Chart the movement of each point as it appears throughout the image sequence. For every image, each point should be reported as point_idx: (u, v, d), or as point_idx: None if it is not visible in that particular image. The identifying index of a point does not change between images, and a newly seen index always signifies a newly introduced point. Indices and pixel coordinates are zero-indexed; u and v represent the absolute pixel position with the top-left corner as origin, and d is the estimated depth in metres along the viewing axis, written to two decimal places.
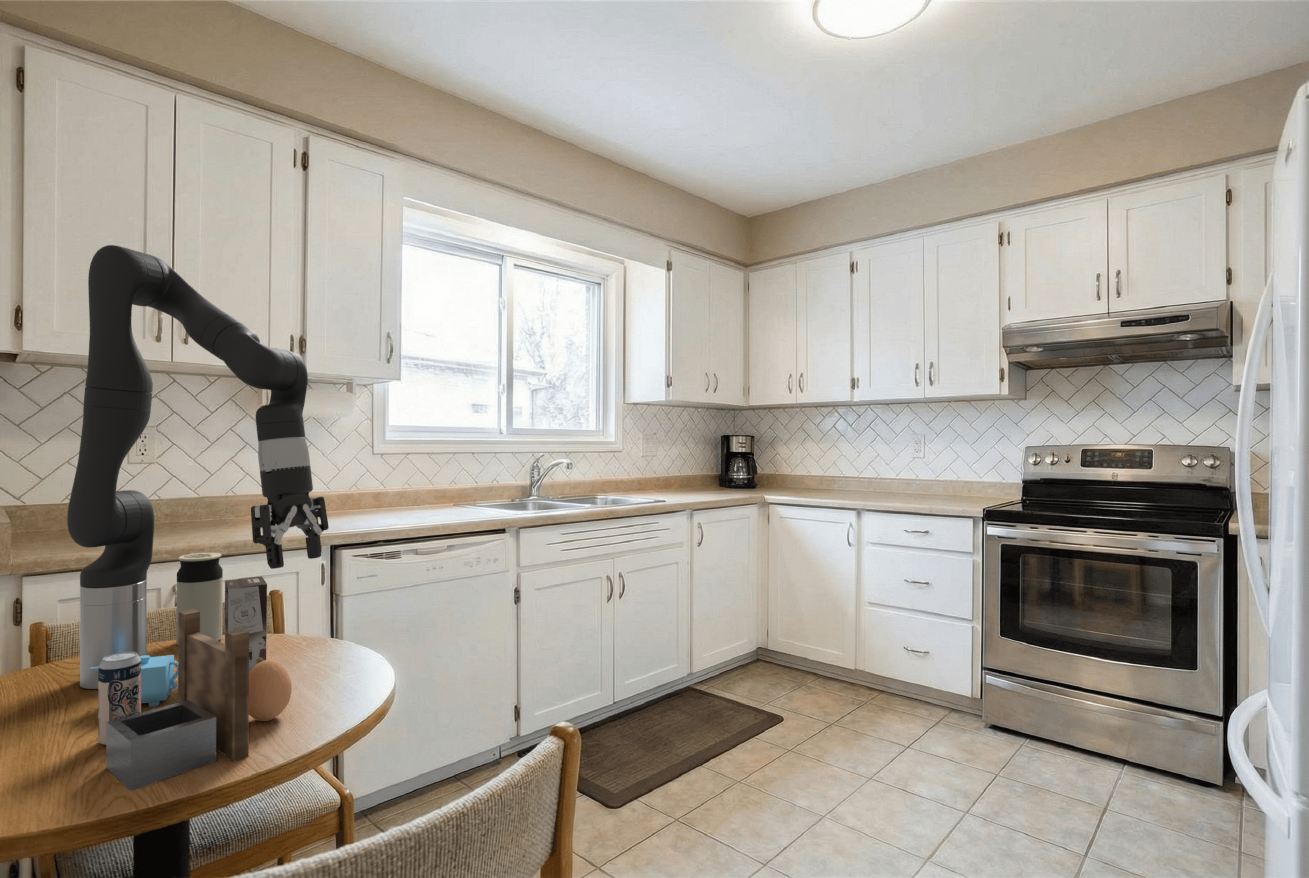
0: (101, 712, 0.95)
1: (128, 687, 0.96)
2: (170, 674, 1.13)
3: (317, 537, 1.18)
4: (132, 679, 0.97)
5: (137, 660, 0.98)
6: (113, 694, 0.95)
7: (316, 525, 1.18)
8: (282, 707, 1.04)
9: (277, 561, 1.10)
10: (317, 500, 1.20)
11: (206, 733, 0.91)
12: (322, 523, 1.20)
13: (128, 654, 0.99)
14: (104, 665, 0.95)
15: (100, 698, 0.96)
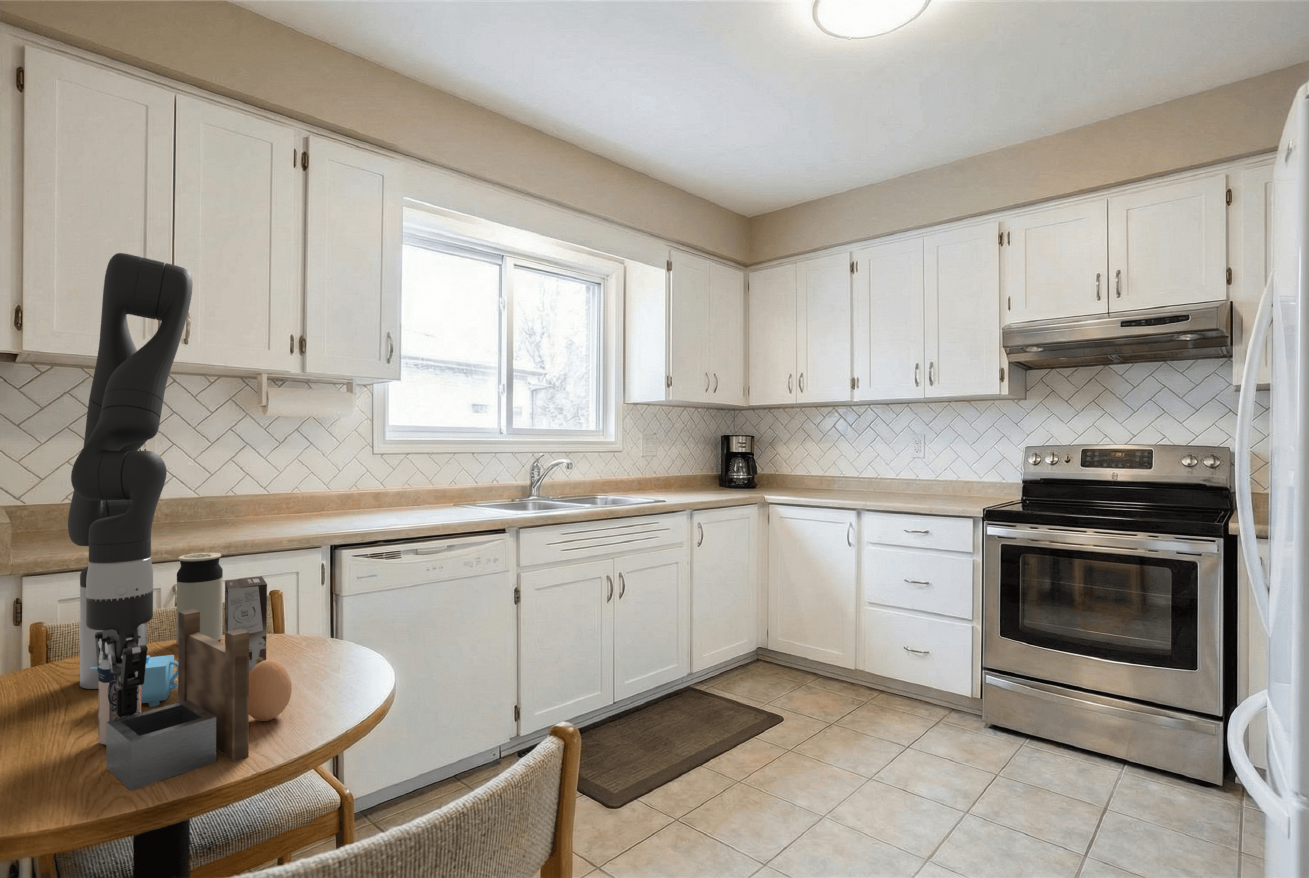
0: (101, 712, 0.95)
1: None
2: (170, 674, 1.13)
3: (116, 692, 0.95)
4: None
5: None
6: (113, 694, 0.95)
7: (115, 677, 0.95)
8: (282, 707, 1.04)
9: None
10: None
11: (206, 733, 0.91)
12: None
13: None
14: (104, 665, 0.95)
15: (100, 698, 0.96)
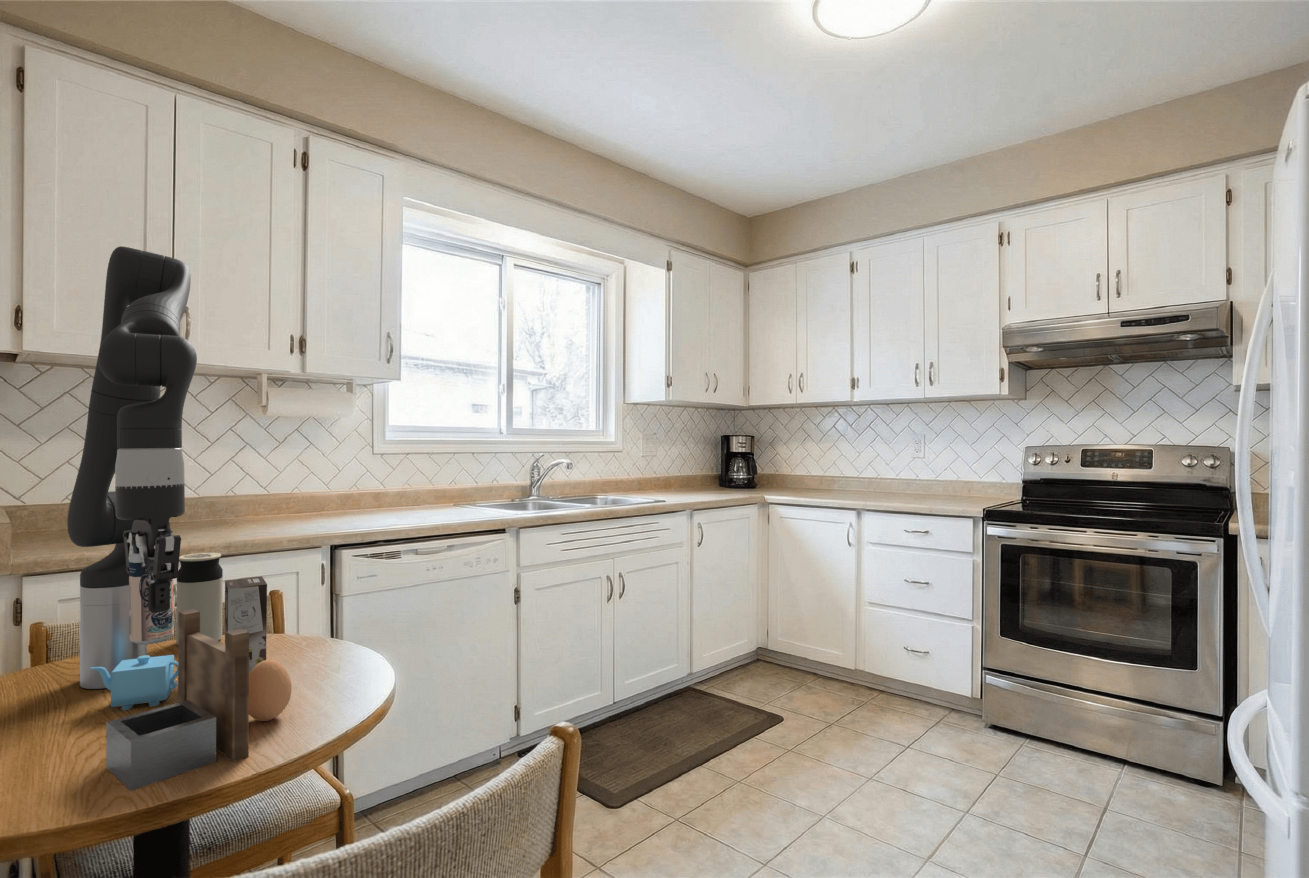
0: (133, 609, 0.90)
1: None
2: (170, 674, 1.13)
3: (149, 586, 0.90)
4: None
5: None
6: (145, 589, 0.90)
7: (147, 570, 0.90)
8: (282, 707, 1.04)
9: None
10: None
11: (206, 733, 0.91)
12: None
13: None
14: (135, 559, 0.90)
15: (131, 594, 0.90)
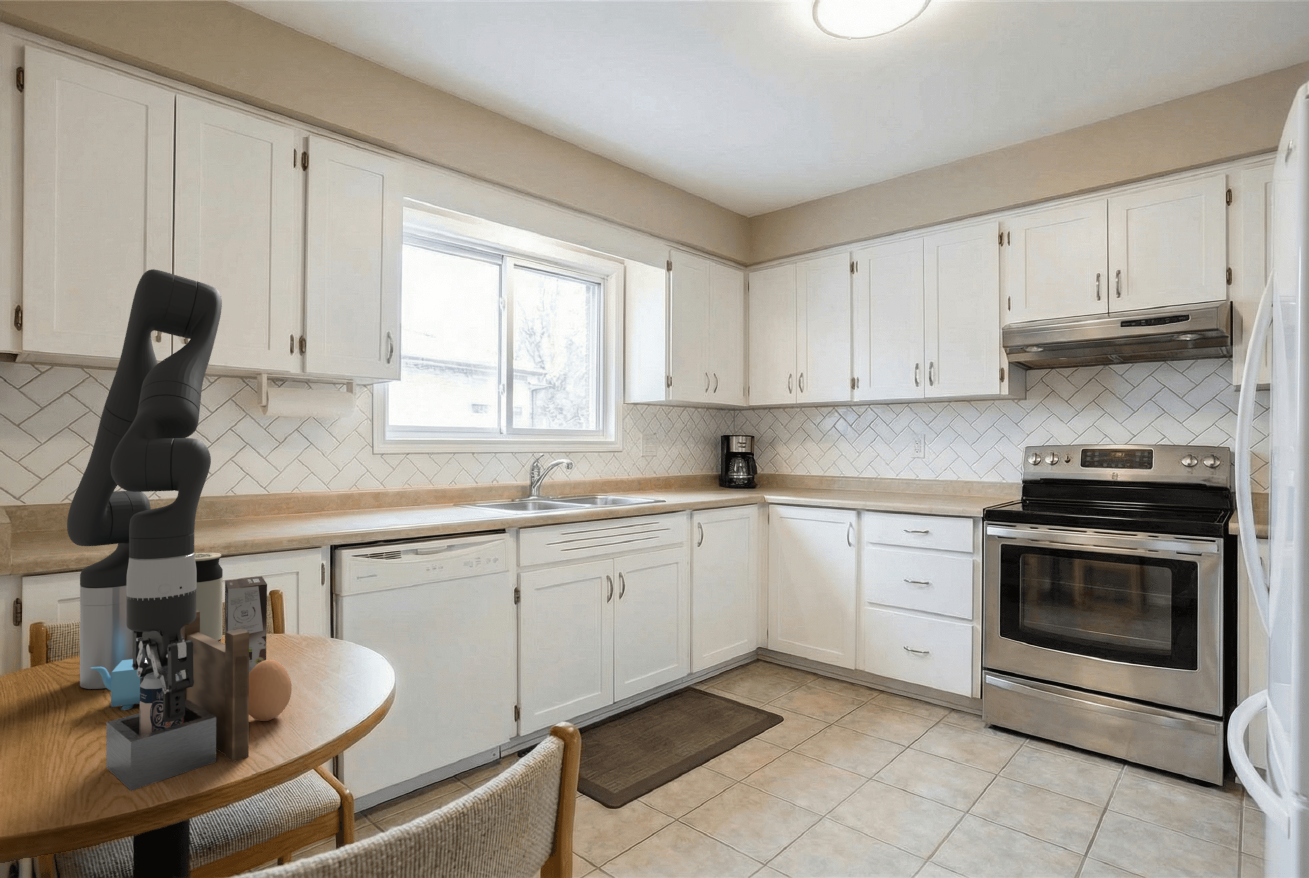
0: None
1: None
2: None
3: (163, 695, 0.87)
4: None
5: None
6: (156, 715, 0.88)
7: (162, 678, 0.87)
8: (282, 707, 1.04)
9: None
10: None
11: (206, 733, 0.91)
12: None
13: None
14: (146, 684, 0.88)
15: (142, 720, 0.89)
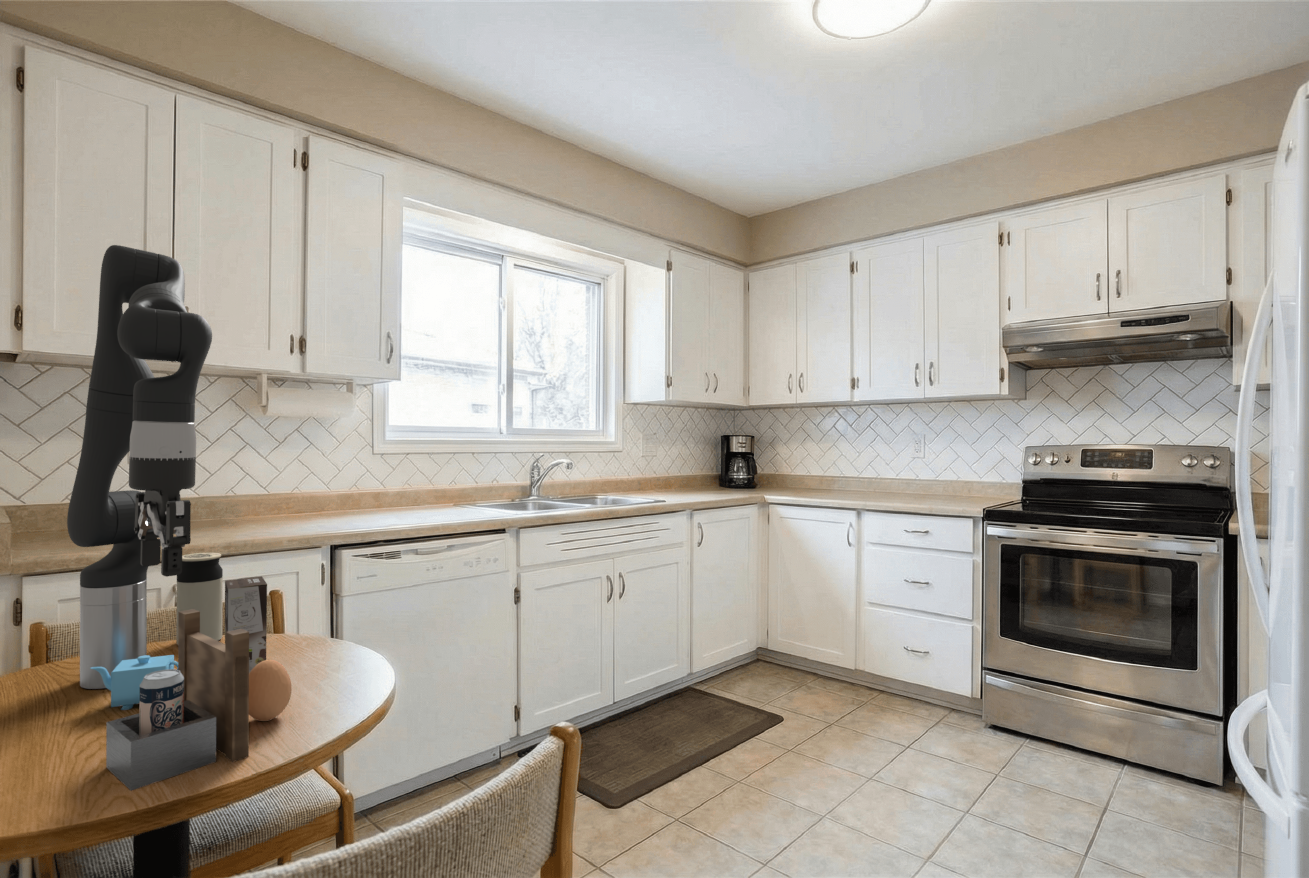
0: None
1: (171, 708, 0.89)
2: None
3: (162, 550, 0.92)
4: (175, 699, 0.90)
5: (181, 679, 0.91)
6: (156, 715, 0.88)
7: (161, 535, 0.92)
8: (282, 707, 1.04)
9: None
10: None
11: (206, 733, 0.91)
12: None
13: (170, 672, 0.92)
14: (146, 684, 0.88)
15: (141, 720, 0.89)
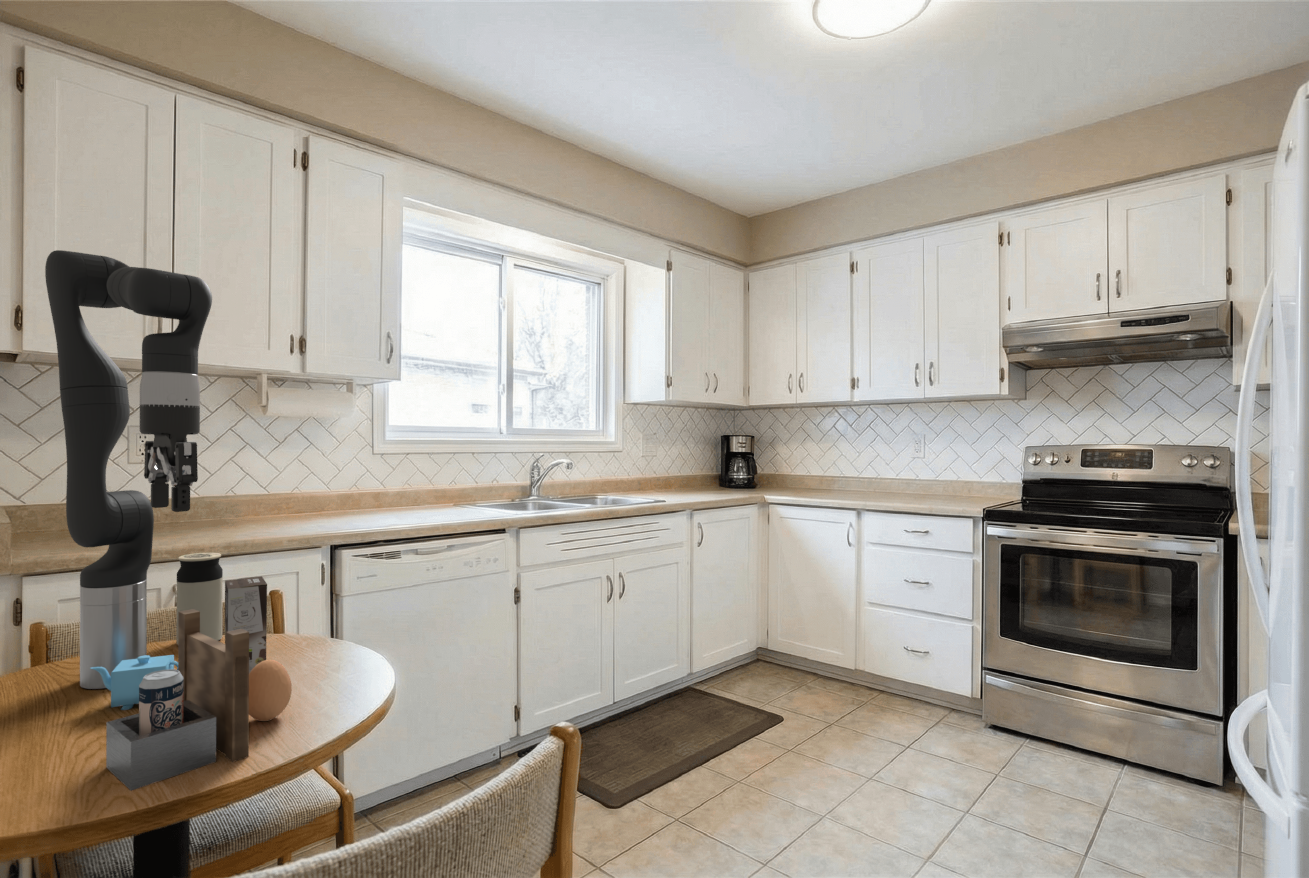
0: None
1: (171, 708, 0.89)
2: None
3: (172, 488, 1.01)
4: (175, 699, 0.90)
5: (180, 679, 0.91)
6: (155, 715, 0.88)
7: (171, 474, 1.01)
8: (282, 707, 1.04)
9: None
10: None
11: (206, 733, 0.91)
12: None
13: (170, 672, 0.92)
14: (145, 684, 0.88)
15: (141, 720, 0.89)
